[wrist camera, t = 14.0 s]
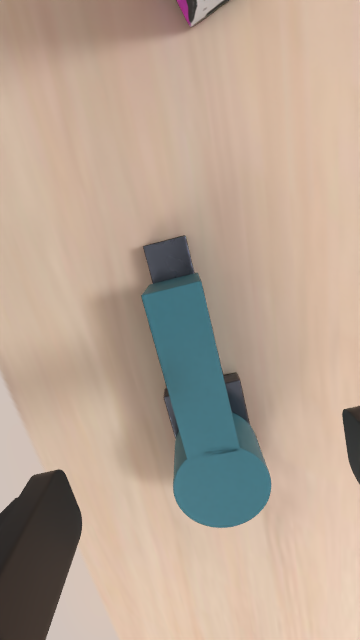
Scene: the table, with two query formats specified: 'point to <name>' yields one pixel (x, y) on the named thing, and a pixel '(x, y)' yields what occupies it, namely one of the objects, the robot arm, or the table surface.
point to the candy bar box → (198, 9)
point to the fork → (173, 263)
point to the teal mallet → (203, 412)
